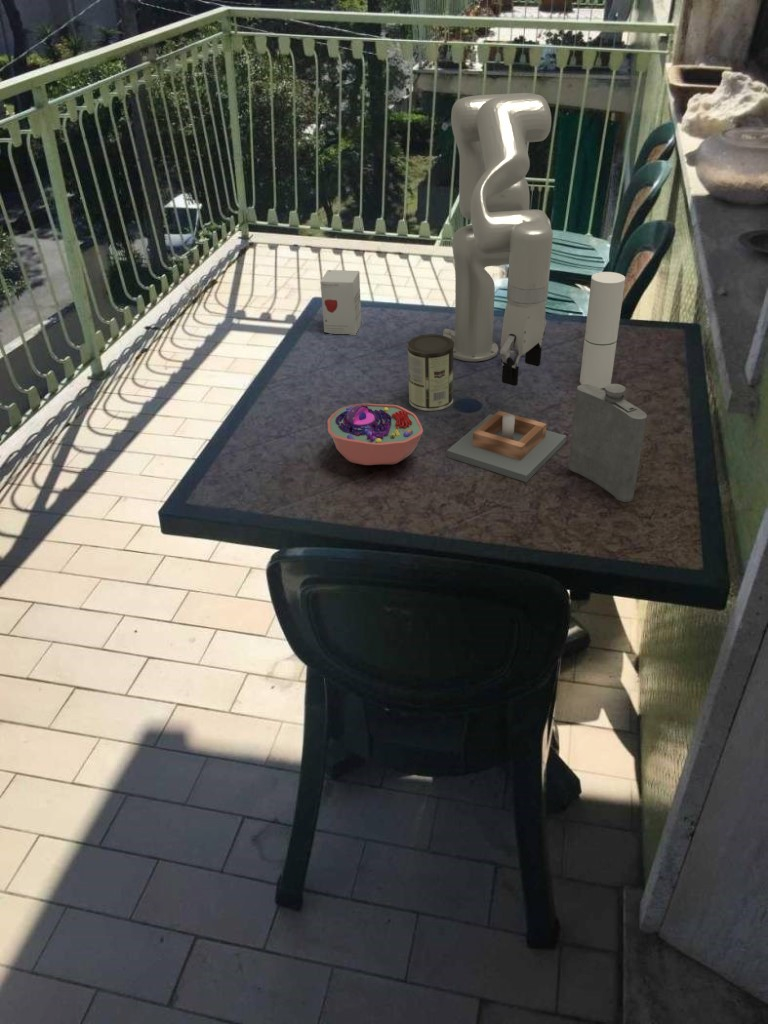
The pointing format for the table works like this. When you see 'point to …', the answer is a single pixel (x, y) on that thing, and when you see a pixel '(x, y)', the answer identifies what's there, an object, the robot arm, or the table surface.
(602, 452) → the hip flask
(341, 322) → the supplement box
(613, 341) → the cylindrical container
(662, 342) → the table surface
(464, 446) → the stand
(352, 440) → the cell model
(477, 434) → the ring
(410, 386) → the coffee can
